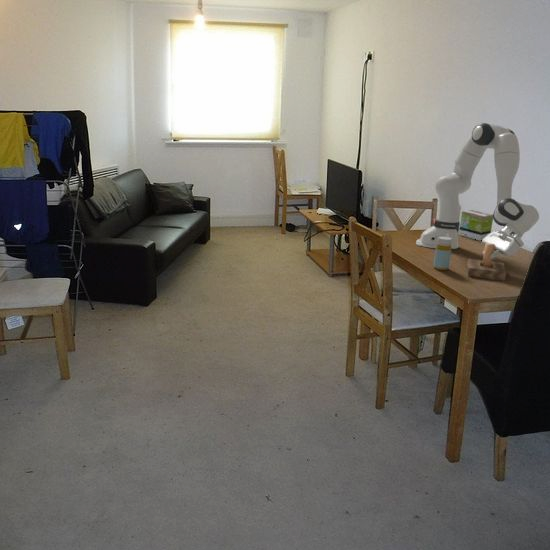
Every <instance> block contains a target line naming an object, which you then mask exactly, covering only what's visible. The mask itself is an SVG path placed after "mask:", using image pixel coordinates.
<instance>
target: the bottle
mask: <svg viewBox="0 0 550 550" xmlns="http://www.w3.org/2000/svg"><path fill="white" fill-rule="evenodd" d="M451 242H452V238H450V237H445V236H440V237H438V243H437V246H436V248H435V251H434V259H433V266H432V267H433V269H435V270H437V271H442V270H444V271H448V269H449V268H450V262H451V254H452V249H451Z"/></svg>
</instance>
